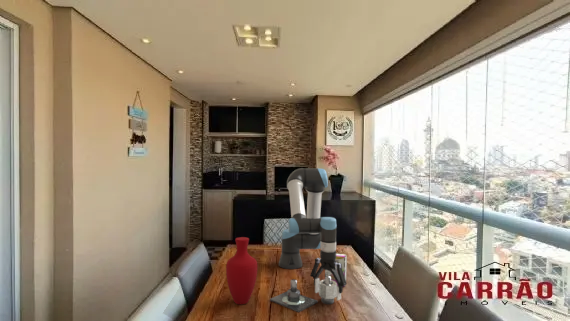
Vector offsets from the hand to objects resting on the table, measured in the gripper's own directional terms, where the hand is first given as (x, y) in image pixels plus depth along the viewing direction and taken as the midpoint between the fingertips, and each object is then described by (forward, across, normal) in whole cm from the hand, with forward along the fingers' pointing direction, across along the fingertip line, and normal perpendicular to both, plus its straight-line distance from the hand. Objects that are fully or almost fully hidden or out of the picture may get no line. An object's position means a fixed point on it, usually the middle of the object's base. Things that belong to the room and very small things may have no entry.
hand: (327, 295), depth 154 cm
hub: (+3, -12, -11) cm, 17 cm away
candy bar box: (+3, -9, +21) cm, 23 cm away
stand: (+3, 0, 0) cm, 3 cm away
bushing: (0, 0, 0) cm, 0 cm away
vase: (+3, -30, -28) cm, 41 cm away
